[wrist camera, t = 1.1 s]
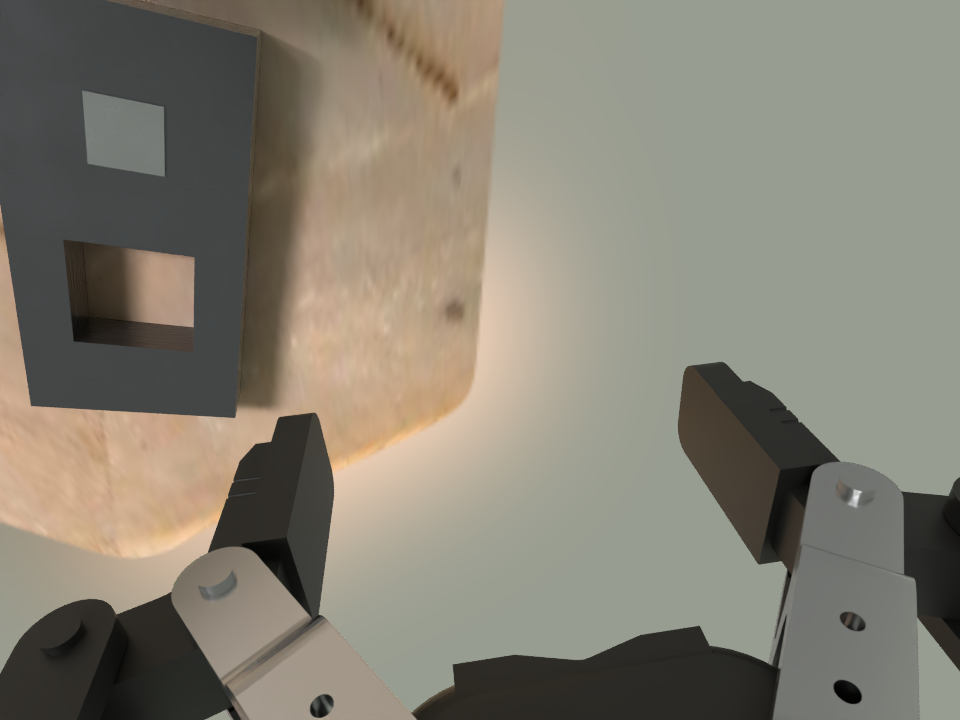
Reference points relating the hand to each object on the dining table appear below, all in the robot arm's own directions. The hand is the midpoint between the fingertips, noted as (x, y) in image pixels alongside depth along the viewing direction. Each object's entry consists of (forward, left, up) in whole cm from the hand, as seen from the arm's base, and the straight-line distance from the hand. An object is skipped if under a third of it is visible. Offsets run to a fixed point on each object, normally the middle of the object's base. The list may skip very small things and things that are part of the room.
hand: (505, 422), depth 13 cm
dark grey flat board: (-12, -6, -22) cm, 26 cm away
